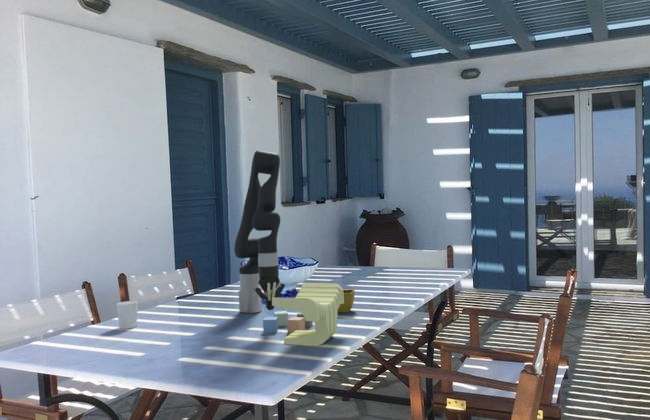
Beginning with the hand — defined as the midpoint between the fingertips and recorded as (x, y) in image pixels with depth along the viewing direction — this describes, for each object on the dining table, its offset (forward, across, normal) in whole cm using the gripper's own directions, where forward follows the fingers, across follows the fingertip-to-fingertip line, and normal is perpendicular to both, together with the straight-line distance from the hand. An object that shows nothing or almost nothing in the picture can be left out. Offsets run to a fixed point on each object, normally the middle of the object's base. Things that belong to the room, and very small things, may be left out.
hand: (270, 309), depth 226 cm
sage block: (+8, -8, -7) cm, 14 cm away
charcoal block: (+8, -15, +1) cm, 17 cm away
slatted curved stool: (+8, -4, +22) cm, 24 cm away
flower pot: (+8, -41, -10) cm, 43 cm away
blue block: (+8, 0, 0) cm, 8 cm away
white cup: (+8, +41, -47) cm, 63 cm away
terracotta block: (+8, -7, +7) cm, 13 cm away
